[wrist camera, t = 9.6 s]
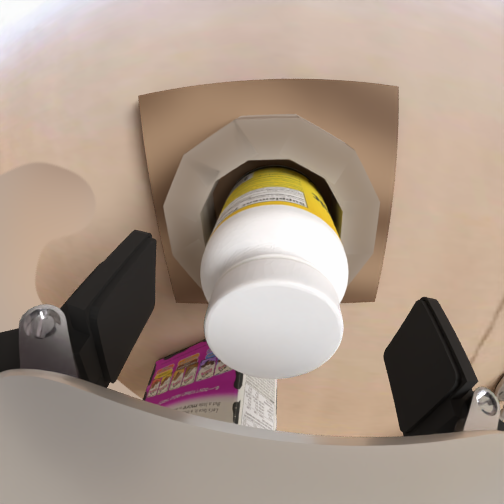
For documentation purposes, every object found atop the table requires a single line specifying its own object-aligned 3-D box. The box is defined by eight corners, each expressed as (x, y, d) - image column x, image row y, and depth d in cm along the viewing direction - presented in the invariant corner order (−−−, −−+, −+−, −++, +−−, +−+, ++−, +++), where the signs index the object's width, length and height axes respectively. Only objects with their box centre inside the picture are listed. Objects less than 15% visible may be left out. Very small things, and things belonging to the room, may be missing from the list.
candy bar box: (190, 386, 28) (155, 531, 14) (155, 359, 26) (102, 513, 12) (282, 353, 24) (275, 546, 10) (247, 317, 22) (215, 541, 8)
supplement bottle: (322, 249, 18) (350, 389, 9) (233, 252, 18) (197, 389, 10) (324, 160, 15) (382, 254, 6) (222, 164, 15) (154, 260, 7)
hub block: (370, 291, 20) (385, 331, 17) (180, 292, 22) (163, 331, 18) (390, 86, 13) (423, 86, 10) (146, 95, 15) (111, 98, 11)
